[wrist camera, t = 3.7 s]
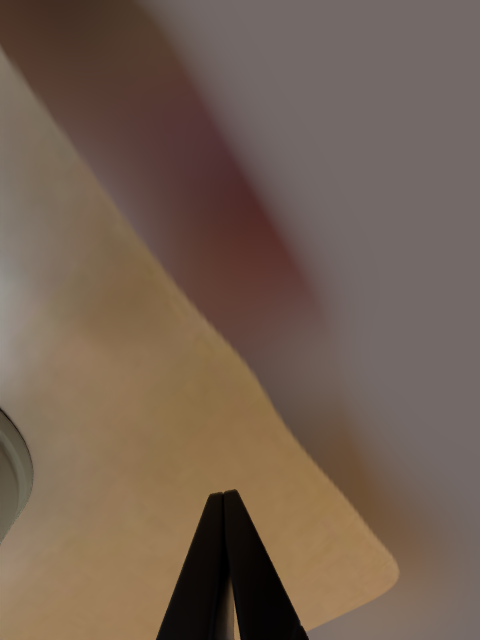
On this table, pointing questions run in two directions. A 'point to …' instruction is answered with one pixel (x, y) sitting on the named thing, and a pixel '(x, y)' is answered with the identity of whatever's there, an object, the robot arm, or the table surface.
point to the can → (13, 475)
